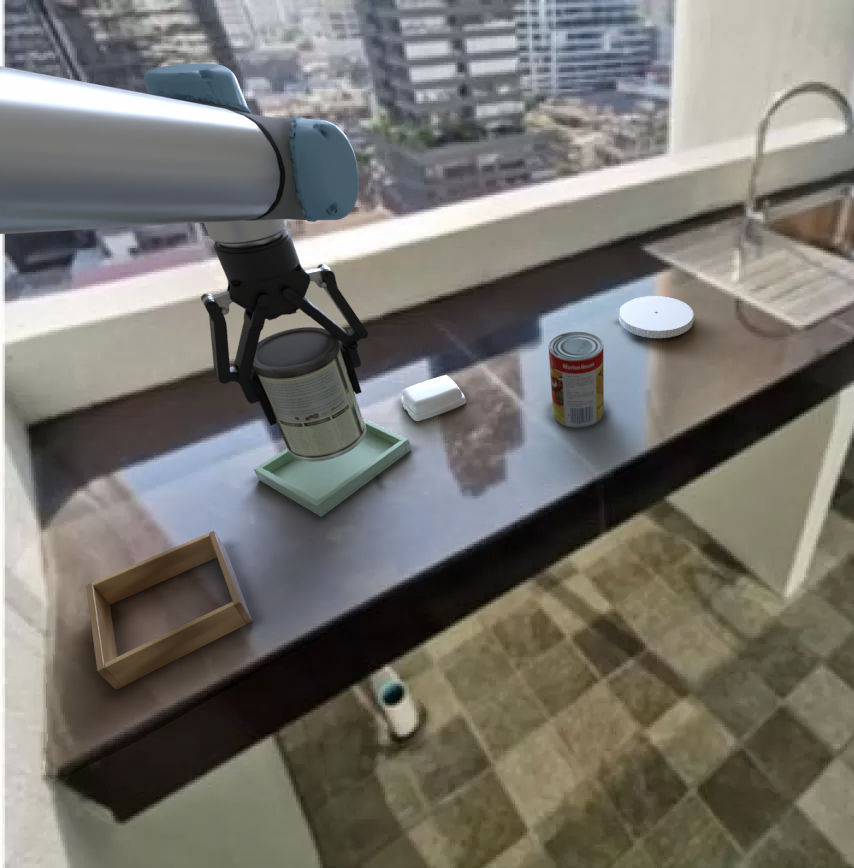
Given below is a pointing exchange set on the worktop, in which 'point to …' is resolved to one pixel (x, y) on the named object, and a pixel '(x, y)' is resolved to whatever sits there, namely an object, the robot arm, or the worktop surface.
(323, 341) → the coffee can
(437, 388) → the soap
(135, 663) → the can stand
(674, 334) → the plastic lid
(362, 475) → the tray
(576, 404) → the canned food
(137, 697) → the worktop surface
